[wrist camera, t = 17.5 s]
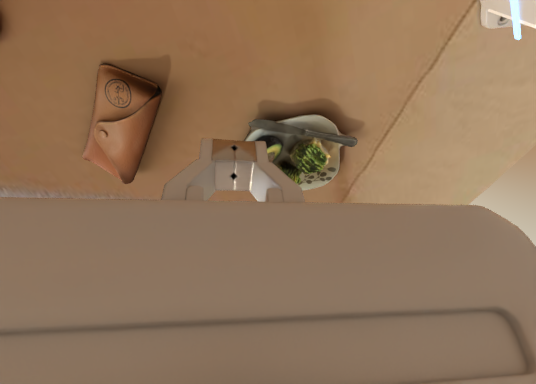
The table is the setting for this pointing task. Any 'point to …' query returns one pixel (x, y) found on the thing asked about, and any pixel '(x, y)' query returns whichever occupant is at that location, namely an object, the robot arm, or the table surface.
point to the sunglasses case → (121, 121)
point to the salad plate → (302, 147)
